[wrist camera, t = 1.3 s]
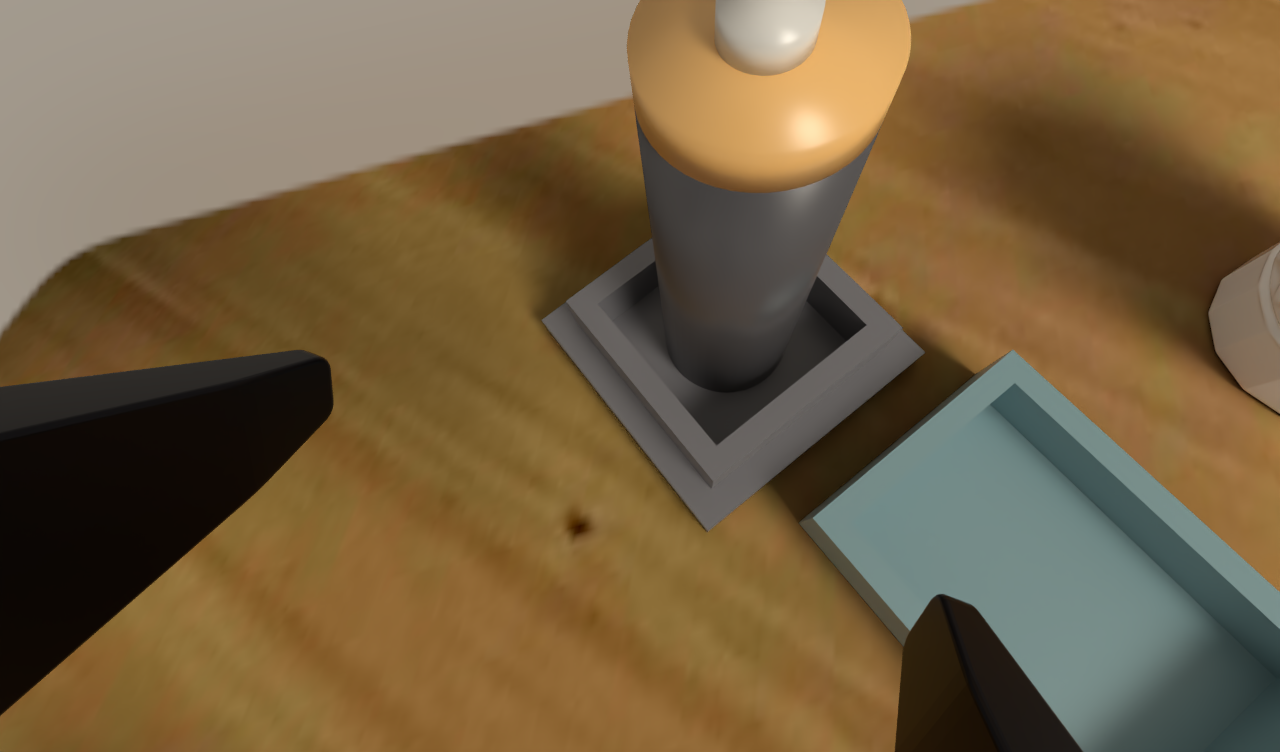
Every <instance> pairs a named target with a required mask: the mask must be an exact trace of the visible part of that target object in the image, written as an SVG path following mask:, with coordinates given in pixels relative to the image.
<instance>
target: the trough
mask: <svg viewBox="0 0 1280 752" xmlns="http://www.w3.org/2000/svg"><path fill="white" fill-rule="evenodd" d="M799 524H800V525H801V526H802V528H803V529H804V530H805V531H806V532H807V534H808V535H809V536H810V537H811V538H812V539H813V541H814V542H815V543H816V544H817V545H818V547H819V548H820V549H821V550H822V551H823V552H824V554H825V555H826V556H827V557H828V558H829V559H830V561H831V562H832V563H833V564H834V565H835V567H836V568H837V569H838V570H839V571H840V572H841V574H842V575H843V576H844V577H845V578H846V579H847V581H848V582H849V583H850V584H851V585H852V587H853V588H854V589H855V590H856V591H857V592H858V594H859V595H860V596H861V597H862V598H863V600H864V601H865V602H866V603H867V604H868V605H869V607H870V608H871V609H872V610H873V611H874V612H875V614H876V615H877V616H878V617H879V618H880V620H881V621H882V622H883V623H884V624H885V625H886V627H887V628H888V629H889V630H890V631H891V632H892V634H893V635H894V636H895V637H896V638H897V640H898V641H899V642H900V643H901V644H902V645H903V647H904V644H905V640H906V638H907V635H908V633H909V632H910V630H911V629H912V627H913V626H914V624H915V623H916V621H917V620H918V618H919V617H920V615H921V614H922V612H923V611H924V609H925V608H926V606H927V605H928V603H929V602H930V600H931V599H932V598H933V597H934V596H936V595H937V594H946V595H948V596H951V597H953V598H956V599H959V600H961V601H964V602H967V603H969V604H971V605H973V606H974V607H975V608H976V609H977V610H978V611H979V612H980V613H981V615H982V616H983V618H984V619H985V620H986V622H987V623H988V624H989V626H990V627H991V628H992V630H993V631H994V632H995V634H996V635H997V636H998V638H999V639H1000V640H1001V642H1002V643H1003V644H1004V646H1005V647H1006V648H1007V650H1008V651H1009V652H1010V654H1011V655H1012V656H1013V658H1014V659H1015V660H1016V662H1017V663H1018V664H1019V666H1020V667H1021V669H1022V670H1023V671H1024V673H1025V674H1026V675H1027V677H1028V678H1029V679H1030V681H1031V682H1032V683H1033V685H1034V686H1035V687H1036V689H1037V690H1038V691H1039V693H1040V694H1041V695H1042V697H1043V698H1044V699H1045V701H1046V702H1047V703H1048V705H1049V706H1050V707H1051V709H1052V710H1053V711H1054V713H1055V714H1056V716H1057V717H1058V718H1059V720H1060V721H1061V722H1062V724H1063V725H1064V726H1065V728H1066V729H1067V730H1068V732H1069V733H1070V734H1071V736H1072V737H1073V738H1074V740H1075V741H1076V742H1077V744H1078V745H1079V746H1080V748H1081V749H1082V750H1083V752H1280V592H1279V591H1278V590H1277V589H1275V588H1274V587H1273V586H1272V585H1271V584H1270V583H1269V582H1268V581H1267V580H1266V579H1264V578H1263V577H1262V576H1261V575H1260V574H1259V573H1258V572H1257V571H1256V570H1255V569H1253V568H1252V567H1251V566H1250V565H1249V564H1248V563H1247V562H1246V561H1245V560H1244V559H1242V558H1241V557H1240V556H1239V555H1238V554H1237V553H1236V552H1235V551H1234V550H1233V549H1231V548H1230V547H1229V546H1228V545H1227V544H1226V543H1225V542H1224V541H1223V540H1222V539H1220V538H1219V537H1218V536H1217V535H1216V534H1215V533H1214V532H1213V531H1212V530H1211V529H1209V528H1208V527H1207V526H1206V525H1205V524H1204V523H1203V522H1202V521H1201V520H1200V519H1198V518H1197V517H1196V516H1195V515H1194V514H1193V513H1192V512H1191V511H1190V510H1189V509H1187V508H1186V507H1185V506H1184V505H1183V504H1182V503H1181V502H1180V501H1179V500H1178V499H1176V498H1175V497H1174V496H1173V495H1172V494H1171V493H1170V492H1169V491H1168V490H1167V489H1165V488H1164V487H1163V486H1162V485H1161V484H1160V483H1159V482H1158V481H1157V480H1156V479H1154V478H1153V477H1152V476H1151V475H1150V474H1149V473H1148V472H1147V471H1146V470H1145V469H1143V468H1142V467H1141V466H1140V465H1139V464H1138V463H1137V462H1136V461H1135V460H1134V459H1132V458H1131V457H1130V456H1129V455H1128V454H1127V453H1126V452H1125V451H1124V450H1123V449H1121V448H1120V447H1119V446H1118V445H1117V444H1116V443H1115V442H1114V441H1113V440H1112V439H1110V438H1109V437H1108V436H1107V435H1106V434H1105V433H1104V432H1103V431H1102V430H1101V429H1099V428H1098V427H1097V426H1096V425H1095V424H1094V423H1093V422H1092V421H1091V420H1090V419H1088V418H1087V417H1086V416H1085V415H1084V414H1083V413H1082V412H1081V411H1080V410H1079V409H1077V408H1076V407H1075V406H1074V405H1073V404H1072V403H1071V402H1070V401H1069V400H1068V399H1066V398H1065V397H1064V396H1063V395H1062V394H1061V393H1060V392H1059V391H1058V390H1057V389H1055V388H1054V387H1053V386H1052V385H1051V384H1050V383H1049V382H1048V381H1047V380H1046V379H1044V378H1043V377H1042V376H1041V375H1040V374H1039V373H1038V372H1037V371H1036V370H1035V369H1034V368H1032V367H1031V366H1030V365H1029V364H1028V363H1027V362H1026V361H1025V360H1024V359H1023V358H1021V357H1020V356H1019V355H1018V354H1017V353H1016V352H1015V351H1014V350H1012V351H1010V352H1009V353H1007V354H1006V355H1004V356H1002V357H1001V358H999V359H998V360H996V361H995V362H993V363H992V364H990V365H989V366H987V367H986V368H984V369H983V370H981V371H980V372H978V373H977V374H975V375H974V376H973V377H972V378H970V379H969V380H968V381H967V382H966V383H965V384H963V385H962V386H961V387H960V388H959V389H957V390H956V391H955V392H954V393H953V394H951V395H950V396H949V397H948V398H947V399H945V400H944V401H943V402H942V403H941V404H939V405H938V406H937V407H936V408H935V409H934V410H932V411H931V412H930V413H929V414H928V415H926V416H925V417H924V418H923V419H922V420H920V421H919V422H918V423H917V424H916V425H914V426H913V427H912V428H911V429H910V430H908V431H907V432H906V433H905V434H904V435H903V436H901V437H900V438H899V439H898V440H897V441H895V442H894V443H893V444H892V445H891V446H889V447H888V448H887V449H886V450H885V451H883V452H882V453H881V454H880V455H879V456H878V457H876V458H875V459H874V460H873V461H872V462H870V463H869V464H868V465H867V466H866V467H864V468H863V469H862V470H861V471H860V472H858V473H857V474H856V475H855V476H854V477H852V478H851V479H850V480H849V481H848V482H847V483H845V484H844V485H843V486H842V487H841V488H839V489H838V490H837V491H836V492H835V493H833V494H832V495H831V496H830V497H829V498H827V499H826V500H825V501H824V502H823V503H821V504H820V505H819V506H818V507H817V508H816V509H814V510H813V511H812V512H811V513H810V514H808V515H807V516H806V517H805V518H804V519H802V520H801V521H800V522H799Z"/></svg>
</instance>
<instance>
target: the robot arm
mask: <svg viewBox="0 0 1280 752" xmlns="http://www.w3.org/2000/svg"><path fill="white" fill-rule="evenodd" d="M332 409H333V390H332V379H331V369H330V365H329V363H328V361H327V360H326V359H325V358H323V357H321V356H318V355H315V354H313V353H310V352H307V351H304V350H294V351H286V352H278V353H270V354H262V355H254V356H246V357H238V358H230V359H222V360H214V361H206V362H198V363H190V364H182V365H174V366H166V367H158V368H150V369H142V370H134V371H126V372H118V373H109V374H101V375H93V376H85V377H77V378H69V379H61V380H53V381H45V382H37V383H29V384H21V385H13V386H5V387H0V716H1V715H2V714H3V713H4V712H5V711H6V710H7V709H9V708H10V707H11V706H12V705H13V704H14V703H15V702H17V701H18V700H19V699H20V698H21V697H22V696H24V695H25V694H26V693H27V692H28V691H29V690H30V689H32V688H33V687H34V686H35V685H36V684H37V683H38V682H40V681H41V680H42V679H43V678H44V677H45V676H46V675H48V674H49V673H50V672H51V671H52V670H53V669H55V668H56V667H57V666H58V665H59V664H60V663H61V662H63V661H64V660H65V659H66V658H67V657H68V656H69V655H71V654H72V653H73V652H74V651H75V650H76V649H78V648H79V647H80V646H81V645H82V644H83V643H84V642H86V641H87V640H88V639H89V638H90V637H91V636H92V635H94V634H95V633H96V632H97V631H98V630H99V629H100V628H102V627H103V626H104V625H105V624H106V623H107V622H109V621H110V620H111V619H112V618H113V617H114V616H115V615H117V614H118V613H119V612H120V611H121V610H122V609H123V608H125V607H126V606H127V605H128V604H129V603H130V602H132V601H133V600H134V599H135V598H136V597H137V596H138V595H140V594H141V593H142V592H143V591H144V590H145V589H146V588H148V587H149V586H150V585H151V584H152V583H153V582H154V581H156V580H157V579H158V578H159V577H160V576H161V575H163V574H164V573H165V572H166V571H167V570H168V569H169V568H171V567H172V566H173V565H174V564H175V563H176V562H177V561H179V560H180V559H181V558H182V557H183V556H184V555H186V554H187V553H188V552H189V551H190V550H191V549H192V548H194V547H195V546H196V545H197V544H198V543H199V542H200V541H202V540H203V539H204V538H205V537H206V536H207V535H208V534H210V533H211V532H212V531H213V530H214V529H215V528H217V527H218V526H219V525H220V524H221V523H222V522H223V521H225V520H226V519H227V518H228V517H229V516H230V515H231V514H233V513H234V512H235V511H236V510H237V509H238V508H240V507H241V506H242V505H243V504H244V503H245V502H246V501H247V500H248V499H250V498H251V497H252V496H253V495H254V494H255V493H256V492H257V491H258V490H259V489H260V488H261V487H262V486H263V485H264V484H265V483H266V482H267V481H268V480H269V479H270V478H271V477H272V476H273V475H274V474H275V473H276V472H277V471H278V470H279V469H280V468H281V467H282V466H283V465H284V464H285V463H286V462H287V461H288V459H289V458H290V457H291V456H292V455H293V454H294V453H295V452H296V451H297V450H298V449H299V448H300V447H301V446H302V445H303V444H304V443H305V442H306V441H307V440H308V439H309V438H310V436H311V435H312V434H313V433H314V432H315V431H316V430H317V429H318V428H319V427H320V426H321V425H322V424H323V423H324V422H325V421H326V420H327V418H328V417H329V415H330V414H331V412H332ZM895 752H1083V750H1082V749H1081V748H1080V746H1079V745H1078V744H1077V742H1076V741H1075V740H1074V738H1073V737H1072V736H1071V734H1070V733H1069V732H1068V730H1067V729H1066V728H1065V726H1064V725H1063V724H1062V722H1061V721H1060V720H1059V718H1058V717H1057V716H1056V714H1055V713H1054V711H1053V710H1052V709H1051V707H1050V706H1049V705H1048V703H1047V702H1046V701H1045V699H1044V698H1043V697H1042V695H1041V694H1040V693H1039V691H1038V690H1037V689H1036V687H1035V686H1034V685H1033V683H1032V682H1031V681H1030V679H1029V678H1028V677H1027V675H1026V674H1025V673H1024V671H1023V670H1022V669H1021V667H1020V666H1019V664H1018V663H1017V662H1016V660H1015V659H1014V658H1013V656H1012V655H1011V654H1010V652H1009V651H1008V650H1007V648H1006V647H1005V646H1004V644H1003V643H1002V642H1001V640H1000V639H999V638H998V636H997V635H996V634H995V632H994V631H993V630H992V628H991V627H990V626H989V624H988V623H987V622H986V620H985V619H984V618H983V616H982V615H981V613H980V612H979V611H978V610H977V609H976V608H975V607H974V606H973V605H971V604H969V603H967V602H964V601H961V600H959V599H956V598H953V597H951V596H948V595H946V594H937V595H936V596H934V597H933V598H932V599H931V600H930V602H929V603H928V605H927V606H926V608H925V609H924V611H923V612H922V614H921V615H920V617H919V618H918V620H917V621H916V623H915V624H914V626H913V627H912V629H911V630H910V632H909V633H908V635H907V638H906V640H905V644H904V648H903V656H902V669H901V681H900V693H899V705H898V718H897V730H896V742H895Z"/></svg>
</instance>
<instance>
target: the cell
mask: <svg viewBox="0 0 1280 752" xmlns="http://www.w3.org/2000/svg"><path fill="white" fill-rule="evenodd" d="M910 48H911V31H910V22H909V19H908V15H907V12H906V9H905V6H904V4H903V2H902V0H640V2H639V3H638V5H637V7H636V10H635V12H634V14H633V17H632V19H631V23H630V28H629V31H628V39H627V54H628V64H629V71H630V79H631V86H632V93H633V101H634V108H635V115H636V123H637V130H638V137H639V145H640V152H641V159H642V167H643V174H644V181H645V188H646V196H647V203H648V210H649V218H650V225H651V232H652V240H653V247H654V254H655V262H656V269H657V276H658V284H659V291H660V298H661V306H662V313H663V320H664V327H665V335H666V342H667V348H668V352H669V355H670V357H671V359H672V361H673V363H674V365H675V366H676V368H677V369H678V370H679V372H680V373H681V374H682V375H683V376H684V377H685V378H687V379H688V380H689V381H691V382H692V383H694V384H696V385H697V386H699V387H702V388H704V389H707V390H711V391H715V392H725V393H730V392H738V391H743V390H746V389H749V388H752V387H754V386H756V385H758V384H759V383H761V382H762V381H764V380H765V379H766V378H767V377H768V376H770V375H771V374H772V372H773V371H774V370H775V369H776V367H777V366H778V364H779V363H780V361H781V358H782V356H783V354H784V351H785V349H786V347H787V344H788V342H789V340H790V337H791V335H792V333H793V330H794V328H795V326H796V323H797V321H798V319H799V316H800V314H801V312H802V309H803V307H804V305H805V302H806V300H807V298H808V295H809V293H810V291H811V289H812V286H813V284H814V282H815V279H816V277H817V275H818V272H819V270H820V268H821V265H822V263H823V261H824V258H825V256H826V254H827V251H828V249H829V247H830V244H831V242H832V240H833V237H834V235H835V233H836V230H837V228H838V226H839V223H840V221H841V219H842V216H843V214H844V212H845V209H846V207H847V205H848V202H849V200H850V198H851V195H852V193H853V191H854V188H855V186H856V184H857V181H858V179H859V177H860V174H861V172H862V170H863V167H864V165H865V163H866V160H867V158H868V156H869V153H870V151H871V149H872V146H873V144H874V142H875V139H876V137H877V135H878V132H879V130H880V128H881V125H882V123H883V121H884V118H885V116H886V114H887V111H888V109H889V107H890V104H891V102H892V100H893V97H894V95H895V93H896V90H897V88H898V86H899V83H900V81H901V79H902V76H903V74H904V72H905V69H906V67H907V63H908V59H909V55H910Z"/></svg>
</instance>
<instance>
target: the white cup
mask: <svg viewBox="0 0 1280 752" xmlns="http://www.w3.org/2000/svg"><path fill="white" fill-rule="evenodd" d="M1208 316H1209V321H1210V326H1211V332H1212V337H1213V342H1214V347H1215V352H1216V353H1217V355H1218V356H1219V358H1220V359H1221V360H1222V362H1223V363H1224V364H1225V366H1226V367H1227V368H1228V370H1229V371H1230V373H1231V374H1232V375H1233V377H1234V378H1235V379H1236V381H1237V382H1238V383H1239V385H1240V386H1241V387H1242V389H1243V390H1245V391H1246V392H1248V393H1249V394H1251V395H1252V396H1254V397H1255V398H1257V399H1258V400H1260V401H1261V402H1263V403H1264V404H1266V405H1267V406H1269V407H1270V408H1272V409H1273V410H1275V411H1276V412H1278V413H1279V414H1280V242H1278V243H1277V244H1275V245H1273V246H1272V247H1270V248H1268V249H1266V250H1265V251H1263V252H1261V253H1260V254H1258V255H1256V256H1255V257H1253V258H1252V259H1250V260H1249V261H1247V262H1246V263H1245V264H1243V265H1242V266H1240V267H1239V268H1237V269H1236V270H1234V271H1233V272H1231V273H1230V274H1229V275H1227V276H1226V277H1224V278H1223V279H1222V280H1221V282H1220V284H1219V287H1218V289H1217V292H1216V294H1215V297H1214V299H1213V302H1212V304H1211V307H1210V309H1209V312H1208Z"/></svg>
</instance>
